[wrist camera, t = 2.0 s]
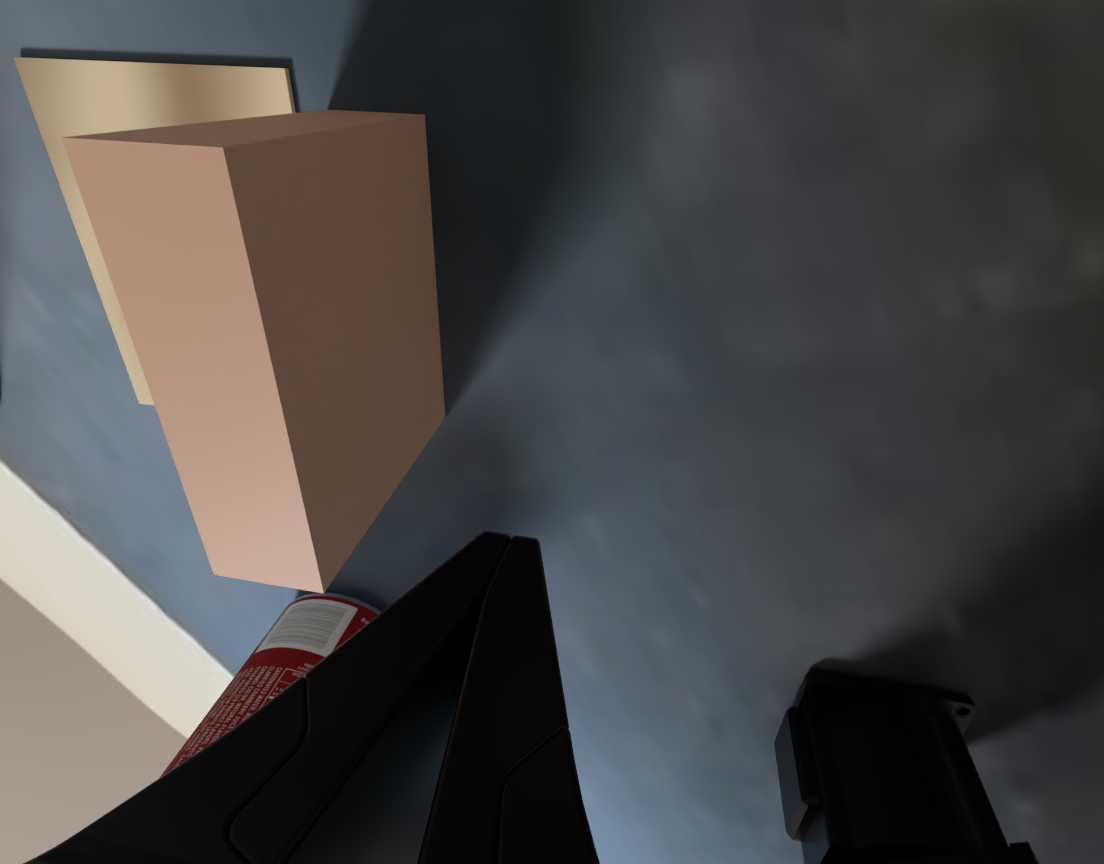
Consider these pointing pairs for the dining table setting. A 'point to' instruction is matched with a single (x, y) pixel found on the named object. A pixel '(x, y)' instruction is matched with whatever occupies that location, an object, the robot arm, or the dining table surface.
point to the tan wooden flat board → (129, 104)
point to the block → (277, 320)
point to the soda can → (281, 661)
